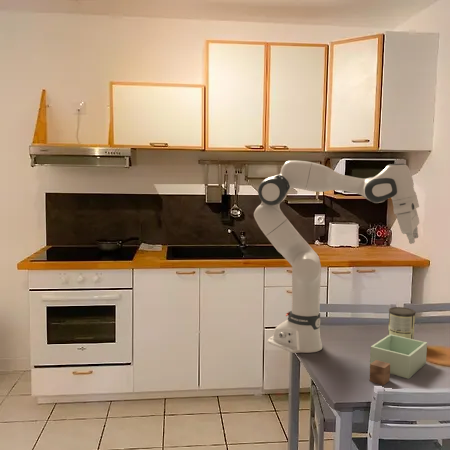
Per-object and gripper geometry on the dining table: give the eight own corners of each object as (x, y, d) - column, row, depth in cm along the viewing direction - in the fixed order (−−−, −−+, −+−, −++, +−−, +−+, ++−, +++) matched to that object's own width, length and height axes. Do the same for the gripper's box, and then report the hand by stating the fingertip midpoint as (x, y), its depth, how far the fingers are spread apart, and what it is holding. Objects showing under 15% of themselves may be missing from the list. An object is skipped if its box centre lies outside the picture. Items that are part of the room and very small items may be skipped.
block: (369, 381, 161) (370, 364, 161) (375, 376, 165) (376, 359, 165) (383, 385, 158) (384, 368, 158) (389, 380, 162) (390, 363, 161)
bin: (369, 367, 172) (370, 346, 171) (389, 354, 186) (389, 334, 185) (408, 378, 163) (409, 356, 162) (425, 363, 177) (427, 342, 176)
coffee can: (383, 339, 203) (385, 306, 201) (407, 339, 203) (409, 306, 202) (393, 347, 193) (394, 314, 191) (418, 347, 193) (420, 313, 191)
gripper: (401, 203, 189) (409, 236, 190) (392, 210, 172) (401, 247, 173) (418, 199, 186) (426, 233, 187) (410, 207, 169) (419, 244, 169)
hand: (414, 240), depth 180 cm, fingers open, 8 cm apart
